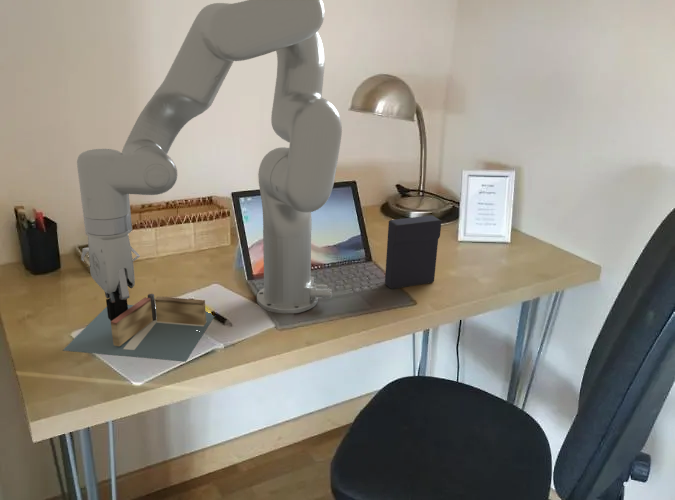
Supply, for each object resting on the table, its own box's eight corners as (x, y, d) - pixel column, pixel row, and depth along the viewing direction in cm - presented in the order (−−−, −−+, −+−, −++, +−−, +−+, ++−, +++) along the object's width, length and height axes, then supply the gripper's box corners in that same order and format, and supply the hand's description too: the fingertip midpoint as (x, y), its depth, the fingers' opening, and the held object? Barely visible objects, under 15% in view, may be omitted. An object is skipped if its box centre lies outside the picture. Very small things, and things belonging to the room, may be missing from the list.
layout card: (217, 313, 121) (217, 311, 121) (186, 363, 105) (185, 360, 105) (110, 305, 124) (109, 303, 123) (62, 352, 107) (62, 350, 107)
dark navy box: (425, 275, 141) (431, 213, 135) (435, 283, 137) (441, 220, 132) (382, 282, 137) (386, 218, 131) (391, 290, 133) (396, 225, 128)
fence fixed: (206, 322, 117) (204, 297, 115) (204, 325, 116) (202, 300, 114) (151, 317, 118) (149, 293, 116) (148, 320, 117) (146, 296, 115)
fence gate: (147, 319, 117) (145, 297, 115) (152, 320, 117) (150, 298, 115) (113, 345, 108) (110, 321, 106) (119, 346, 108) (116, 322, 106)
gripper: (72, 214, 108) (84, 308, 115) (100, 240, 97) (112, 342, 104) (114, 207, 113) (124, 298, 119) (146, 232, 102) (154, 329, 109)
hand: (118, 318), depth 112 cm, fingers closed
